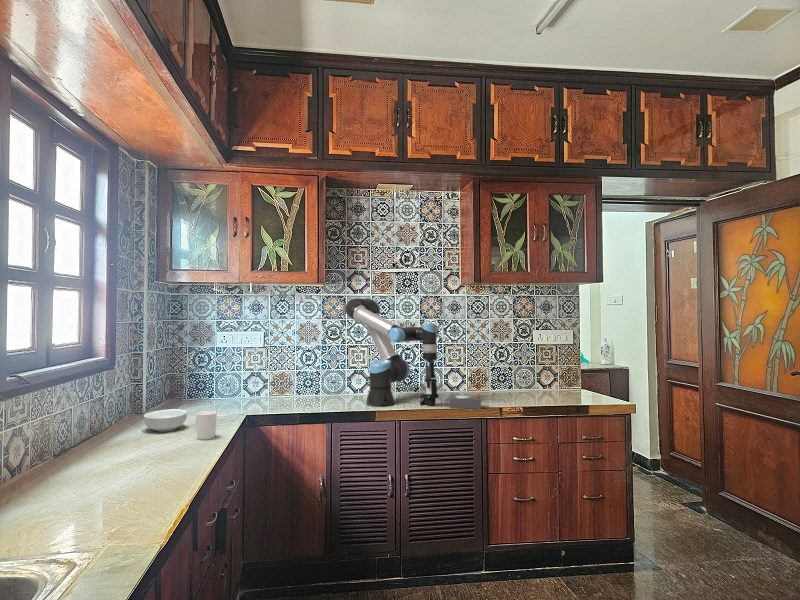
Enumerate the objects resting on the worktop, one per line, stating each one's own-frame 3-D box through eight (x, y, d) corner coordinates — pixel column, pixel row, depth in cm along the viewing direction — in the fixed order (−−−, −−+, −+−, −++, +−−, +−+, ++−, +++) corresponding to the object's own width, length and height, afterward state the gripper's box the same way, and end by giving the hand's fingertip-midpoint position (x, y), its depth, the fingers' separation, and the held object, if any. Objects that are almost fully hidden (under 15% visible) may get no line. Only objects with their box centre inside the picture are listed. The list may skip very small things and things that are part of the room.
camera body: (449, 407, 257) (449, 396, 257) (450, 405, 265) (450, 394, 265) (480, 409, 254) (480, 397, 254) (481, 406, 262) (481, 395, 262)
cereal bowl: (135, 430, 210) (135, 414, 210) (172, 423, 224) (172, 407, 224) (157, 436, 201) (158, 419, 201) (194, 428, 215) (194, 411, 215)
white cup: (198, 441, 193) (198, 415, 194) (193, 437, 200) (193, 412, 200) (219, 438, 198) (219, 413, 198) (213, 434, 204) (213, 409, 205)
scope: (424, 377, 270) (441, 379, 266) (424, 403, 270) (441, 404, 265) (418, 379, 263) (435, 381, 258) (418, 405, 263) (435, 407, 258)
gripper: (433, 354, 252) (434, 395, 251) (439, 350, 276) (440, 388, 276) (419, 354, 253) (420, 395, 252) (426, 350, 278) (426, 388, 277)
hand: (430, 392), depth 264 cm, fingers open, 13 cm apart
